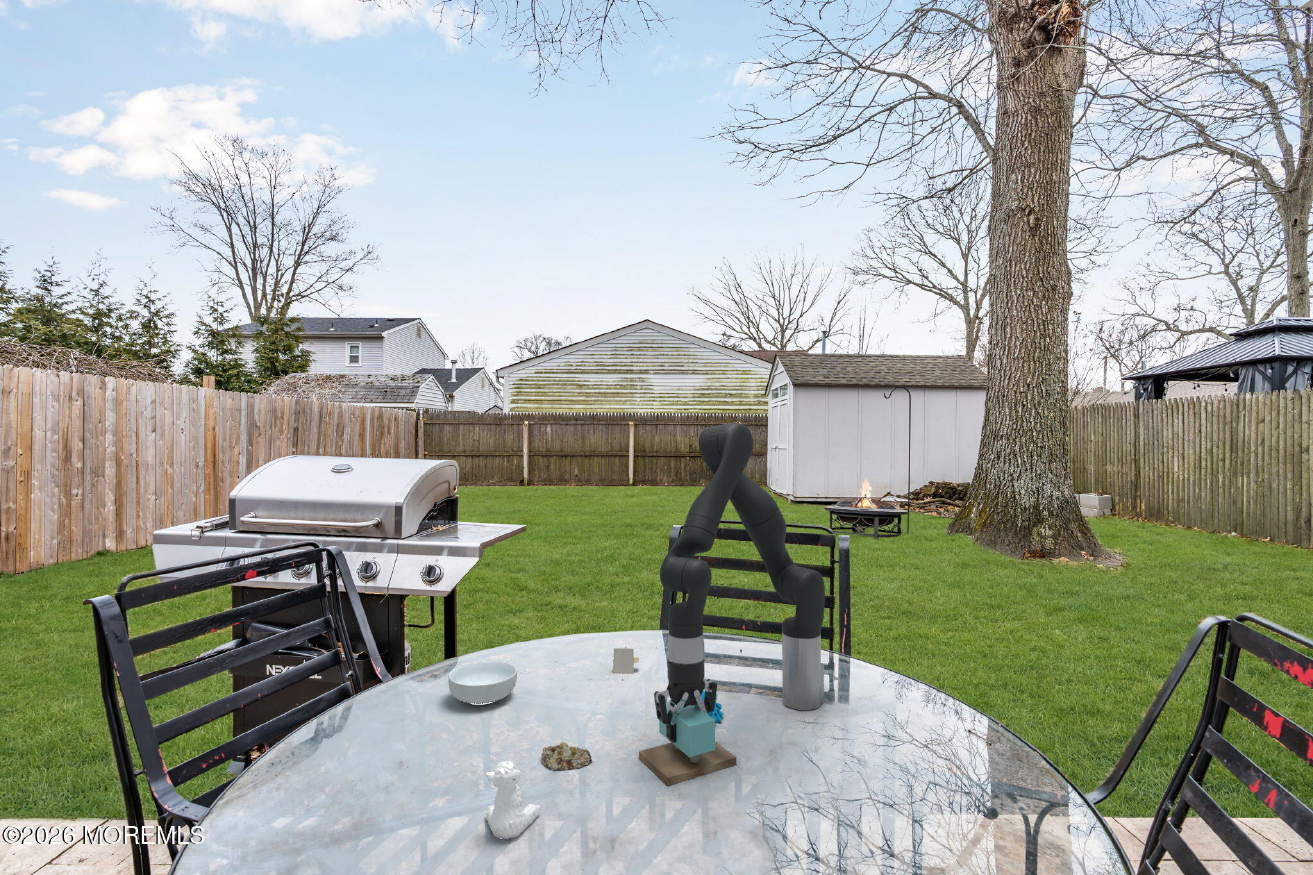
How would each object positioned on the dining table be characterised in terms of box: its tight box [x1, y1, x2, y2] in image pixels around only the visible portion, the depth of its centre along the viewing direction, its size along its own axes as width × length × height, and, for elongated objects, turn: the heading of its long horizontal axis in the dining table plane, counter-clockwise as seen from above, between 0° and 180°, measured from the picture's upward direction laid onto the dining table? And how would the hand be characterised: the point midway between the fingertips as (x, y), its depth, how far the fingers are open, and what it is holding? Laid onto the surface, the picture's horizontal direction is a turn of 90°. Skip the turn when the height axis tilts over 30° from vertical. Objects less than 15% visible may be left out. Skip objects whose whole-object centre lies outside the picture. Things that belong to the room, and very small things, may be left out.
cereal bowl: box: [448, 660, 518, 704], centre depth 168 cm, size 17×17×7 cm
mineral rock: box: [541, 741, 593, 771], centre depth 137 cm, size 11×4×8 cm
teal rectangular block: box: [658, 701, 716, 757], centre depth 136 cm, size 6×12×6 cm, turn 29°
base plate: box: [638, 741, 738, 787], centre depth 137 cm, size 16×12×4 cm
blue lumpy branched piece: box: [701, 690, 724, 723], centre depth 157 cm, size 11×6×10 cm
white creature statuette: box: [485, 760, 542, 840], centre depth 115 cm, size 10×9×12 cm
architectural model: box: [612, 646, 640, 675], centre depth 186 cm, size 3×7×7 cm, turn 86°
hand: (686, 736), depth 136 cm, fingers closed on teal rectangular block, 6 cm apart
